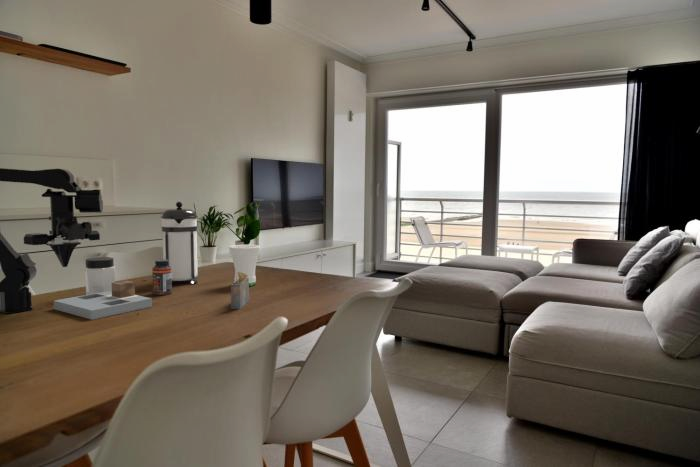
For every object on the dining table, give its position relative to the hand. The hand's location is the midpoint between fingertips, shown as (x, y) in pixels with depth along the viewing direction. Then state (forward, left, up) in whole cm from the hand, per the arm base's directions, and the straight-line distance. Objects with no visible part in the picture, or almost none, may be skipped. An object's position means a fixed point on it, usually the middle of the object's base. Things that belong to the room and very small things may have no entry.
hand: (64, 266), depth 143 cm
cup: (+55, -17, -12) cm, 59 cm away
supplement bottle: (+28, -6, -12) cm, 31 cm away
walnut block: (+12, -9, -10) cm, 18 cm away
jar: (+15, +8, -12) cm, 21 cm away
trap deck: (+6, -9, -12) cm, 16 cm away
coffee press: (+45, +7, -12) cm, 47 cm away
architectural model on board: (+32, -38, -13) cm, 51 cm away
